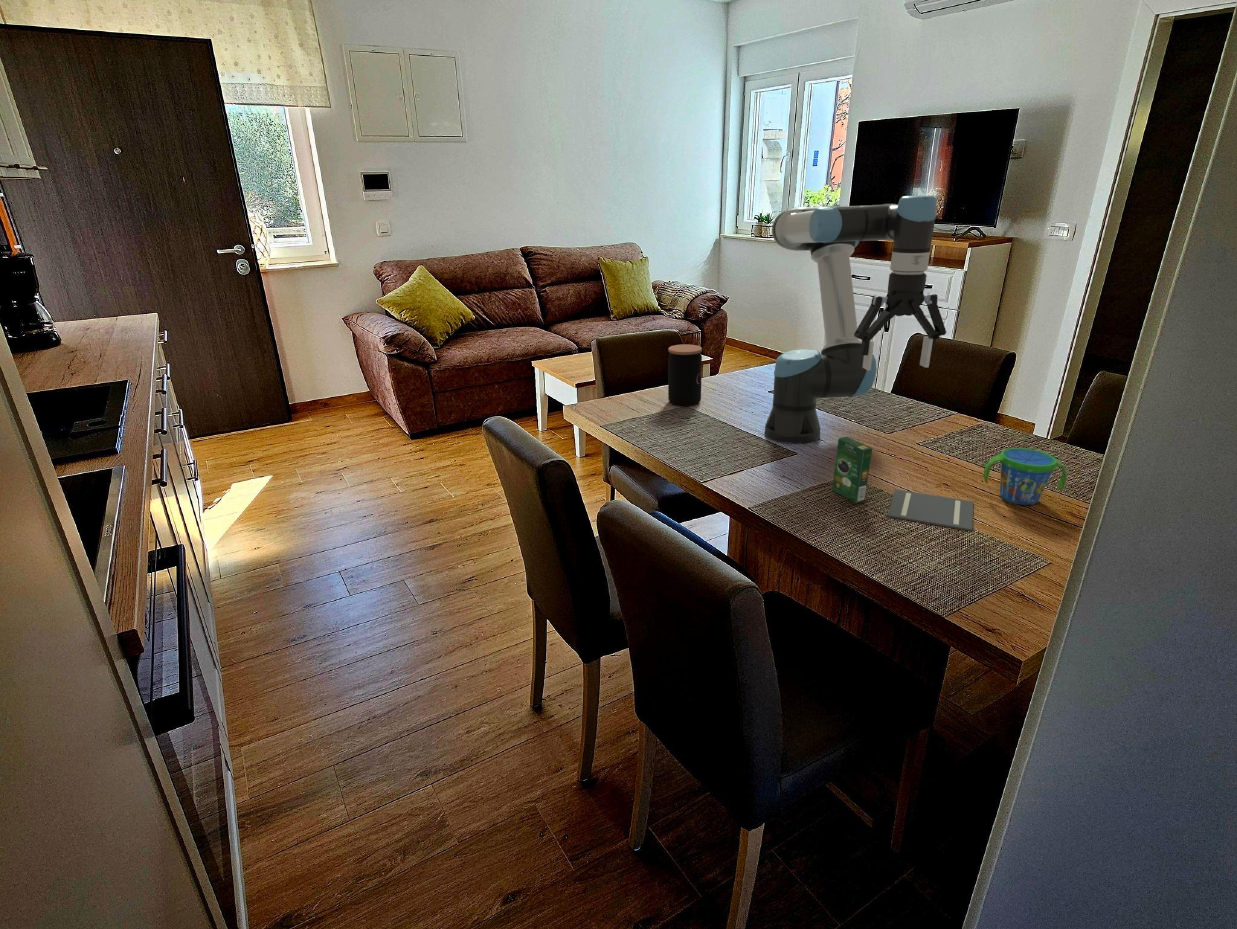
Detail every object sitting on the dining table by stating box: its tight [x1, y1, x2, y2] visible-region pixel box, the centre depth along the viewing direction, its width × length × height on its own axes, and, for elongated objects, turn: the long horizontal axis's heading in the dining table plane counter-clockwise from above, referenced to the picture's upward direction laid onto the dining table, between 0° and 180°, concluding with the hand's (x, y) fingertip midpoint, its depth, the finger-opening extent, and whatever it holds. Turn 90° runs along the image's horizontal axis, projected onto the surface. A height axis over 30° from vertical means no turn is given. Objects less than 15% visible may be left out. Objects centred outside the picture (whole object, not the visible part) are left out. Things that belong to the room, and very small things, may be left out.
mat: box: [887, 489, 974, 532], centre depth 144 cm, size 16×14×1 cm
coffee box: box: [832, 436, 873, 504], centre depth 149 cm, size 8×3×13 cm, turn 25°
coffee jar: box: [667, 343, 703, 408], centre depth 216 cm, size 11×11×18 cm
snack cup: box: [983, 447, 1068, 506], centre depth 146 cm, size 16×10×10 cm
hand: (895, 367), depth 154 cm, fingers open, 13 cm apart
